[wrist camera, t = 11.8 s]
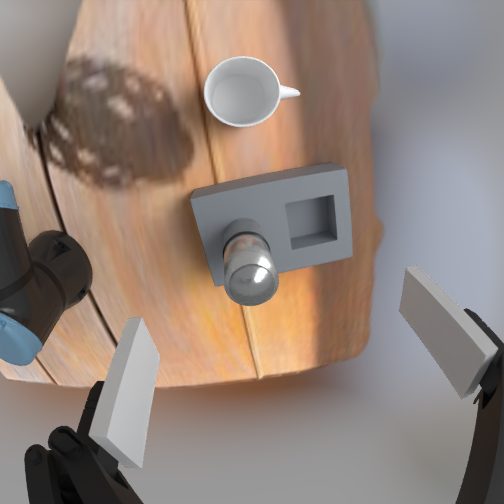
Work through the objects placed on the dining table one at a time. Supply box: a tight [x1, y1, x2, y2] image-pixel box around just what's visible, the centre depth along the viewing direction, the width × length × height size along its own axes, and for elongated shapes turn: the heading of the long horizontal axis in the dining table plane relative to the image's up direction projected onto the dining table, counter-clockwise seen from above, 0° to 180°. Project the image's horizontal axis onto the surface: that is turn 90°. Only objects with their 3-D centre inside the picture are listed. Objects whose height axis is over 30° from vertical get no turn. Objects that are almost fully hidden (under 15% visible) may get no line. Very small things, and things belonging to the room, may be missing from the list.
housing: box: [190, 163, 353, 287], centre depth 44 cm, size 22×14×6 cm, turn 101°
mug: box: [204, 56, 300, 127], centre depth 33 cm, size 9×12×11 cm
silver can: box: [223, 218, 279, 306], centre depth 35 cm, size 6×6×13 cm
